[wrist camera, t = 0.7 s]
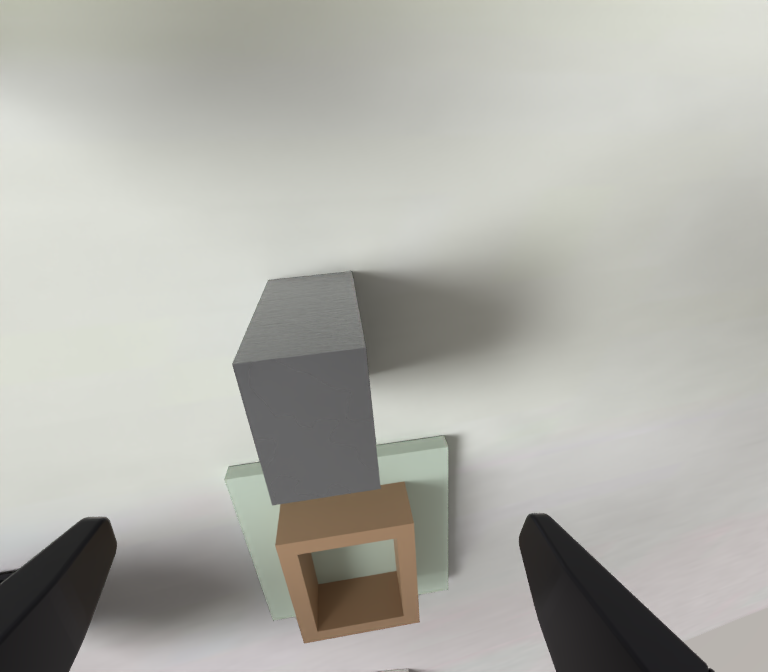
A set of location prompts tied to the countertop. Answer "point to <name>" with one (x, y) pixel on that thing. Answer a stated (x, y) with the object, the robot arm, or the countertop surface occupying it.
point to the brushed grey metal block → (309, 389)
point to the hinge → (401, 671)
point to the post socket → (351, 544)
